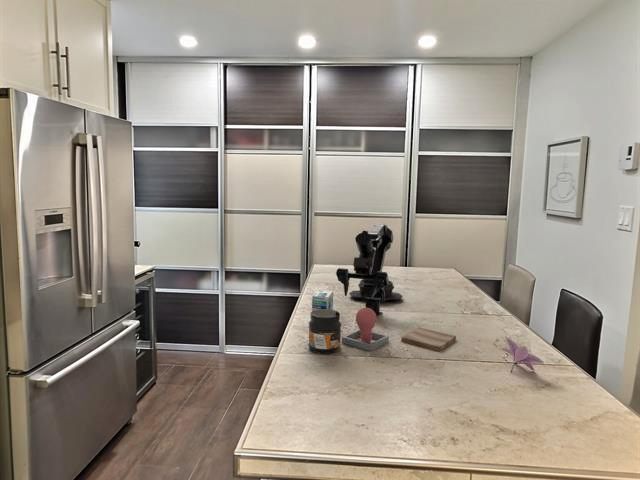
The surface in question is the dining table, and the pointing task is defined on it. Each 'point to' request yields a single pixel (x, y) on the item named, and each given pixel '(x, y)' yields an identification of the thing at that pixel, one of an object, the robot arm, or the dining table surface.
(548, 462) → the dining table surface
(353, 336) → the holder frame
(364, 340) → the light bulb
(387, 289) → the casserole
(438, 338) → the walnut board
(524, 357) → the lily
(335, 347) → the supplement container
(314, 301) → the light bulb box
